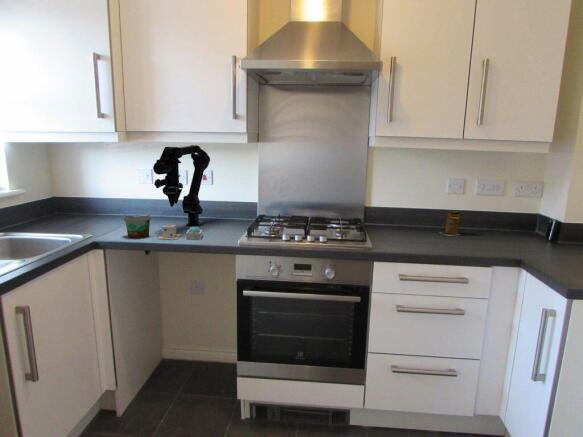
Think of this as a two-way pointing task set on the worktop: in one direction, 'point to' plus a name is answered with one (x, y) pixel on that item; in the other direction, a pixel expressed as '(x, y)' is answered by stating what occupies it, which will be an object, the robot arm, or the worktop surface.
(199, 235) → the dome base
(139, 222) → the food container
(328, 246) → the worktop surface
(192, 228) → the dome button
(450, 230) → the condiment
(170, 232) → the die
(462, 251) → the worktop surface
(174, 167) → the robot arm
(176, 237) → the birch tile
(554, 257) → the worktop surface
